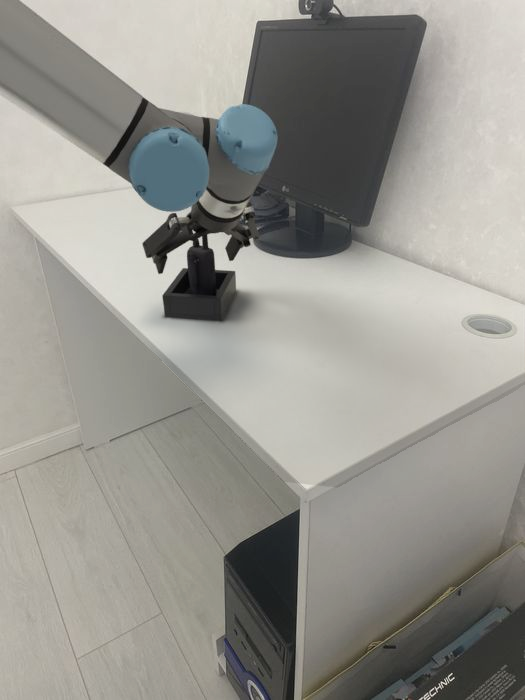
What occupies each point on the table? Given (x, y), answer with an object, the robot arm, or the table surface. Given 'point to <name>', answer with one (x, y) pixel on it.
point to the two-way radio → (201, 268)
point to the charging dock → (199, 297)
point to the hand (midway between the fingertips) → (194, 260)
